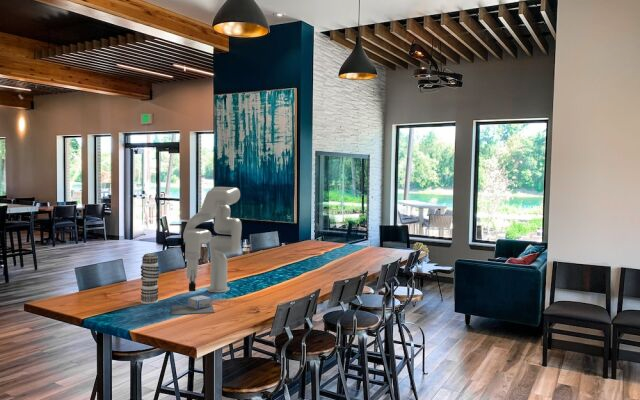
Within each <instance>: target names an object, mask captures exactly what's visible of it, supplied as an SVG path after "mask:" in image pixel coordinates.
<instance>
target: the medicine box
mask: <svg viewBox="0 0 640 400" xmlns="http://www.w3.org/2000/svg"><path fill="white" fill-rule="evenodd" d="M187 299H188V301H187V305H188V306H190V307H193V308H196V309H201V308H205V307H209V306H211V304H212V297H208V296H205V295H202V294H199V295H195V296H190V297H188V298H187Z"/></svg>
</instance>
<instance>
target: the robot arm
mask: <svg viewBox="0 0 640 400" xmlns="http://www.w3.org/2000/svg"><path fill="white" fill-rule="evenodd" d="M240 198H241V191H240V189H239V188H238V187H236V186H235V187H234V186H232V187H231V186H229V187H228V186H214V187H212V188H211V189H210V190H208V191H207V192H206V193H205V197H204V200H203V201H202V206H201V208H200V210H199V211H198V212H197V213H196V214H194V215H193V216H192V217H191V218H190V219H189V220H188V221H187V223H186V225H185V228H184V231H183V233H182V237H183V241H185V247H184V248H185V251H184V255H185V256H184V258H185V259H186V279H189V283H188V292H196V286H197V285H196V279H197V278H198V270H199V259H201V248H202V247H201V246H202V245H201V244H205V245H206V244H208V243H209V251H210V252H209V253H210V275H209V276H210V279H209V280H210V282H209V287H207V289H206V290H207V292H210V293H218V294H219V293H226V292H229V291H230V289H231V288H230V286H228V258H227V256H226V254H238V252H239V251H240V248H241V239H242V230H243V229H242V228H243V226H242V225H243V224H242V220H240V218H237V217H231V207H230V206H231V205H233V204H236V203H237V202H238V201H239V200H240ZM210 220H214V223H213V229H214V230H213V231H214V232H215V233H216V234H219V235H216V236H212V232H211V231H210V230H208V229H205V228H196V227H197V226H199V225H201V224H203V223H205V222H210ZM225 235H230V236H225Z"/></svg>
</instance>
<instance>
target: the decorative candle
mask: <svg viewBox="0 0 640 400" xmlns="http://www.w3.org/2000/svg"><path fill="white" fill-rule="evenodd" d="M141 258H142V260H141V261H142V262H141V265H140V276H141V278H140V280H141V288H140V290H141V292H140V293H141V295H140V297H141V298H140V303H141V304H143V305H144V304H146V305H150V304H156V303H158V302H159V285H158V280H159V278H160V277H159V275H160V274H159V273H158V272H159V271H160V266H159V262H158V261H159V256H158V255H157V254H156V253H154V252H153V253H150V252H149V253H145V254H143V256H141Z"/></svg>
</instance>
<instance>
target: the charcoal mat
mask: <svg viewBox="0 0 640 400" xmlns="http://www.w3.org/2000/svg"><path fill="white" fill-rule="evenodd" d="M170 311H171V316H181V315H182V316H183V315H198V314H200V315H201V314H214V313H215V309H214V306H213V303H211V306H209V307H205V308H201V309H196V308H193V307H190V306H188V304H187V305H186V304H185V305H171V310H170Z"/></svg>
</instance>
